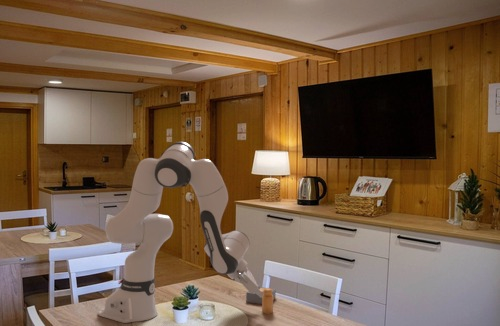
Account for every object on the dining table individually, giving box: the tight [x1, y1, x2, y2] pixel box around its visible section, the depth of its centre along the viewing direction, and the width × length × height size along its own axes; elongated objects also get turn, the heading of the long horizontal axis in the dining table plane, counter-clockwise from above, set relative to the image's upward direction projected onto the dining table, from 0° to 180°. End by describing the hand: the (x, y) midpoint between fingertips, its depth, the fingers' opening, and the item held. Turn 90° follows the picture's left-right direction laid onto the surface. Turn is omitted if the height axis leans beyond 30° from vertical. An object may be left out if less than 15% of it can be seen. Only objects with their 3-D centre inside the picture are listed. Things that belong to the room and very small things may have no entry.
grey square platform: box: [245, 286, 277, 305], centre depth 193 cm, size 10×10×4 cm
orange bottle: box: [261, 287, 274, 315], centre depth 178 cm, size 4×4×9 cm
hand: (260, 292), depth 177 cm, fingers open, 8 cm apart
